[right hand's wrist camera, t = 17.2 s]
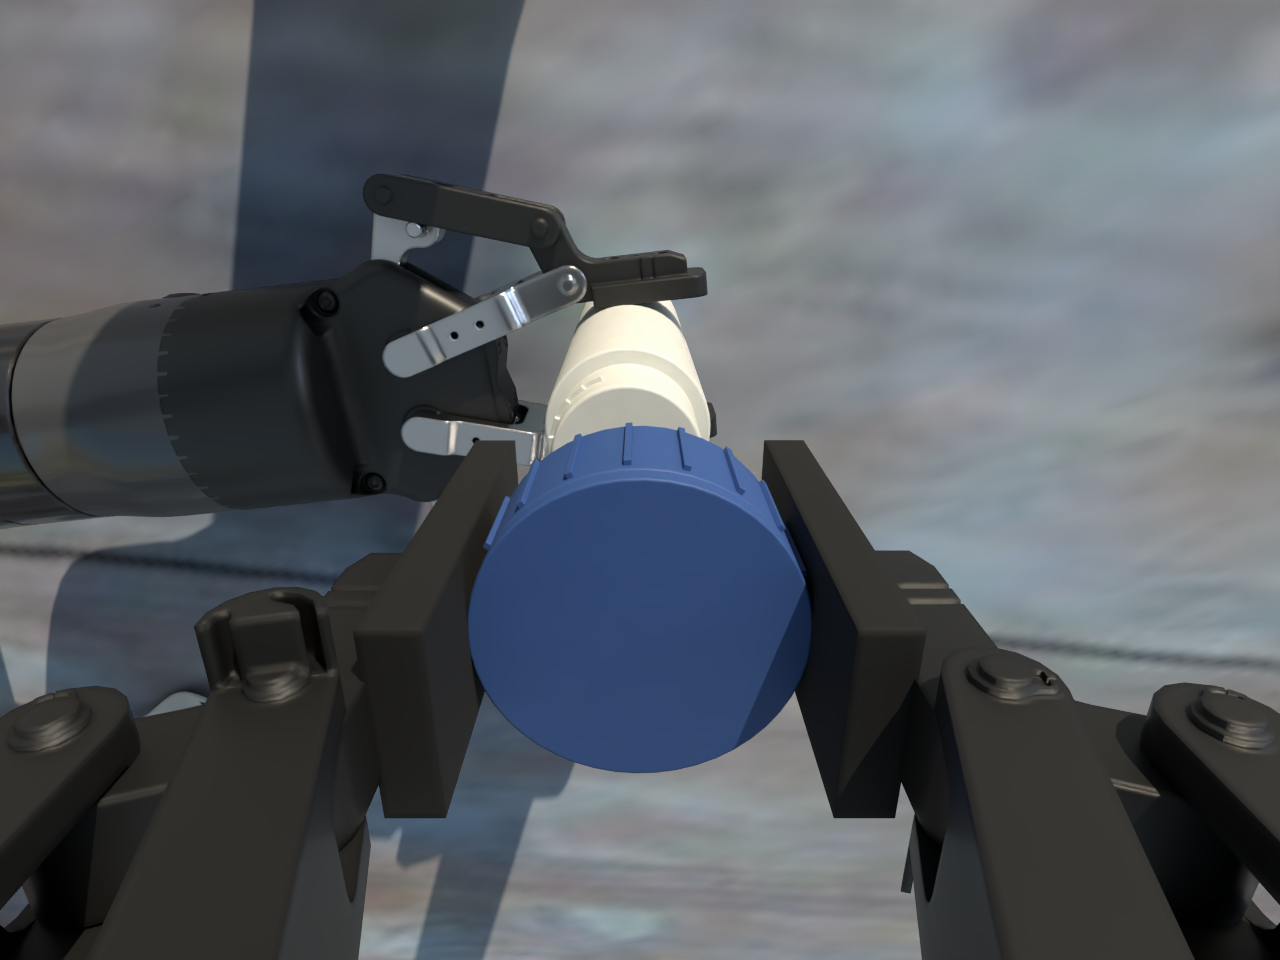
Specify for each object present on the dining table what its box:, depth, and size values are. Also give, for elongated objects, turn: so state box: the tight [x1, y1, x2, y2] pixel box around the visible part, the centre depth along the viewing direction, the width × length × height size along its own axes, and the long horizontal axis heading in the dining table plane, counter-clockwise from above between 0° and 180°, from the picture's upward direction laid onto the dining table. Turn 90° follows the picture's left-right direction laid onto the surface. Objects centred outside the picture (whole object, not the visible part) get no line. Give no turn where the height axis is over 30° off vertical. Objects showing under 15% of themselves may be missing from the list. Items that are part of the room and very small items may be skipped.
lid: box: [467, 422, 812, 773], centre depth 11 cm, size 5×5×2 cm
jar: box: [545, 300, 710, 455], centre depth 24 cm, size 4×4×16 cm
